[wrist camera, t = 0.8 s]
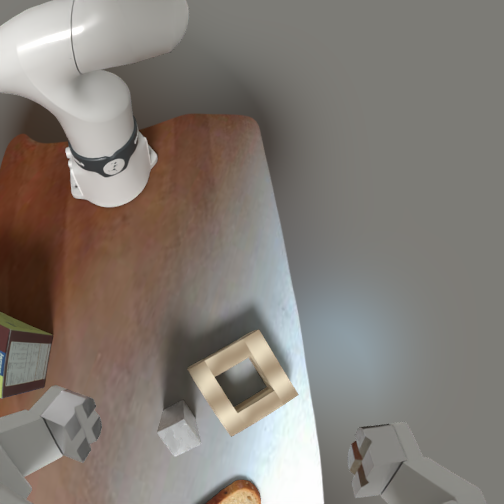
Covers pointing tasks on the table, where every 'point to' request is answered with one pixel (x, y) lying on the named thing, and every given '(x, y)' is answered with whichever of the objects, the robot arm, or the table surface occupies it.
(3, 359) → the protein box
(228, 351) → the well block
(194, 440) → the steel post
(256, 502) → the bread slice
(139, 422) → the table surface
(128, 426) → the table surface
